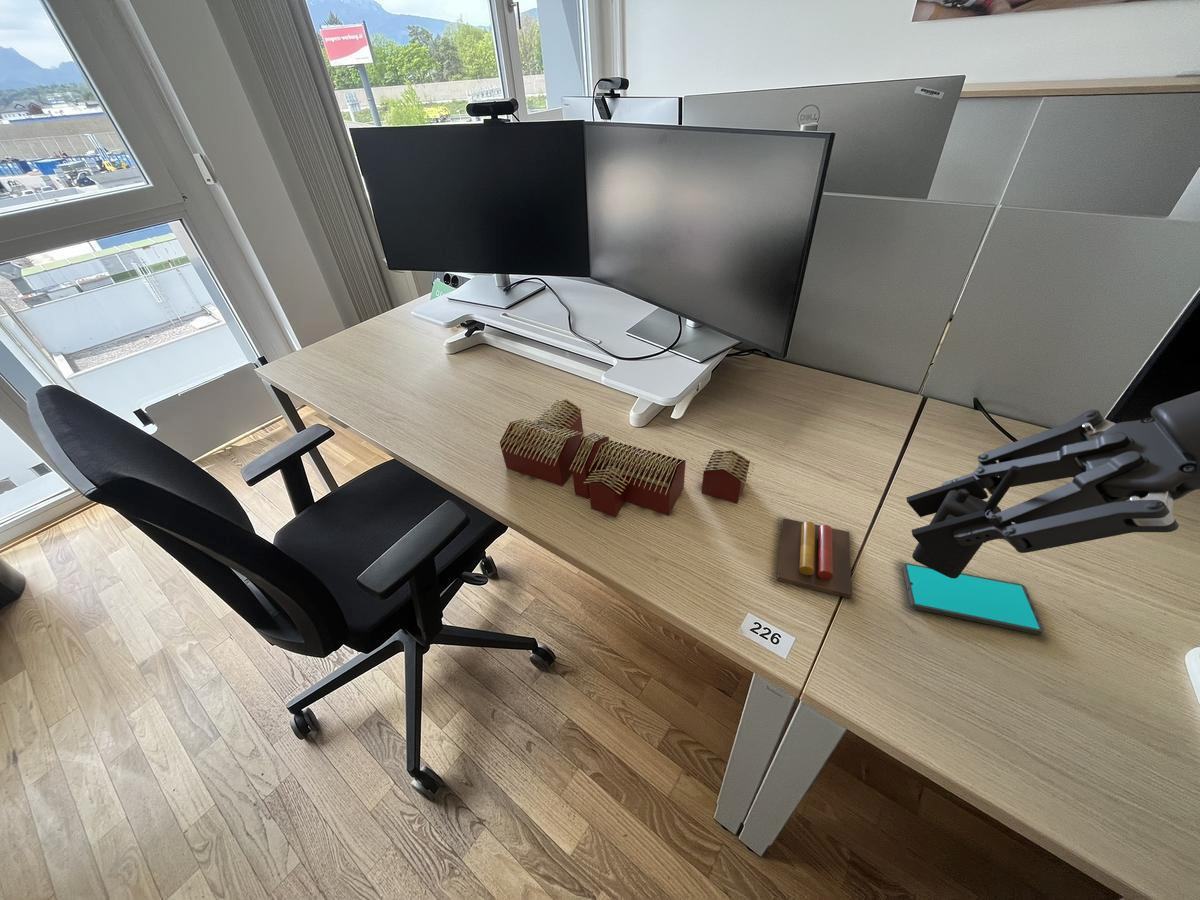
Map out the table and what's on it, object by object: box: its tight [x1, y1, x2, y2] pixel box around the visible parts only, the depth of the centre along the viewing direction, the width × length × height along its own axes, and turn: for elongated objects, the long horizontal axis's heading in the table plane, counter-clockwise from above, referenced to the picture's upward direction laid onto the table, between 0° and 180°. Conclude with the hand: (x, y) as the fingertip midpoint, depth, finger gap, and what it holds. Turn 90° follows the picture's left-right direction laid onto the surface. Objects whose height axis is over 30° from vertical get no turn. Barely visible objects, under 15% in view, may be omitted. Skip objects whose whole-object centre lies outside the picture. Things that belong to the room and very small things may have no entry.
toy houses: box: [497, 398, 756, 518], centre depth 85 cm, size 45×20×10 cm, turn 63°
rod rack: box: [776, 517, 853, 600], centre depth 71 cm, size 10×12×3 cm
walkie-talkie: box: [911, 466, 1021, 579], centre depth 47 cm, size 5×3×15 cm
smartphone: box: [902, 562, 1045, 635], centre depth 64 cm, size 7×1×15 cm
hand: (916, 523), depth 50 cm, fingers closed on walkie-talkie, 4 cm apart
